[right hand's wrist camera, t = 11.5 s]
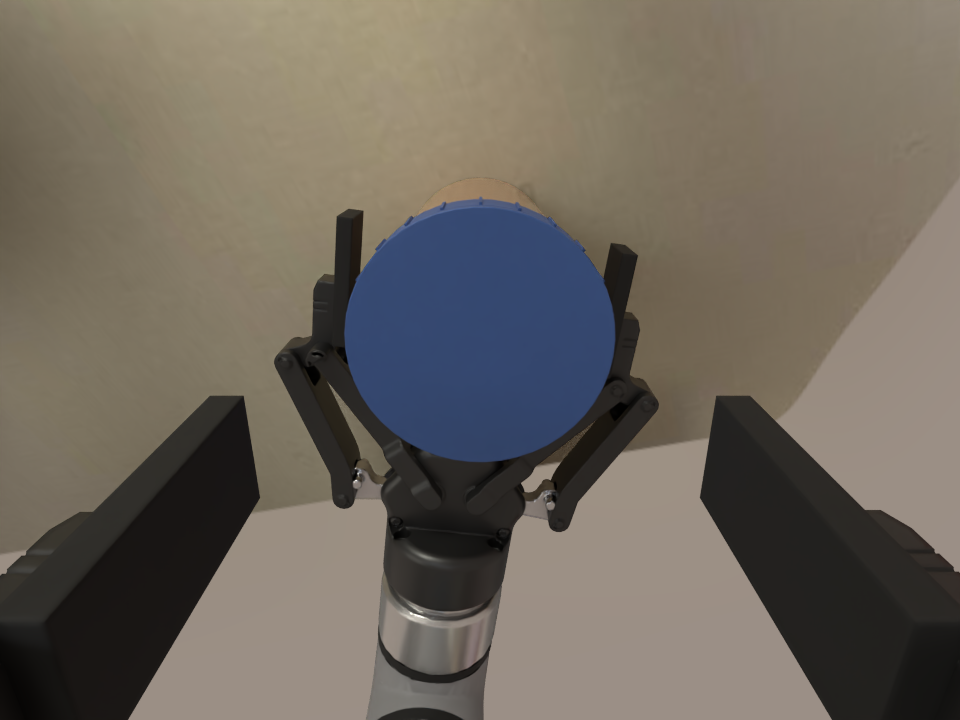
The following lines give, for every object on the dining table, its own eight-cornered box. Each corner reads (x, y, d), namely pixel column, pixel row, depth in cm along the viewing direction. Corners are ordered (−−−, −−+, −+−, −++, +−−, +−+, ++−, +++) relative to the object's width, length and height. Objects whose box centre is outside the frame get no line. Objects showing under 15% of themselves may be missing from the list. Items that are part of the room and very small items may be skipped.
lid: (316, 373, 23) (300, 397, 21) (421, 146, 20) (414, 148, 18) (526, 469, 25) (531, 501, 23) (653, 273, 22) (671, 288, 20)
